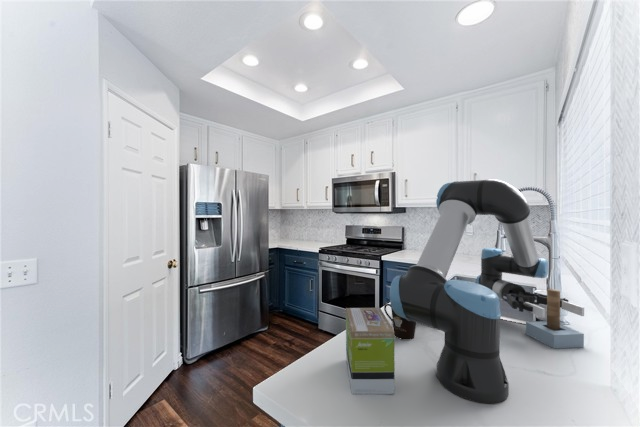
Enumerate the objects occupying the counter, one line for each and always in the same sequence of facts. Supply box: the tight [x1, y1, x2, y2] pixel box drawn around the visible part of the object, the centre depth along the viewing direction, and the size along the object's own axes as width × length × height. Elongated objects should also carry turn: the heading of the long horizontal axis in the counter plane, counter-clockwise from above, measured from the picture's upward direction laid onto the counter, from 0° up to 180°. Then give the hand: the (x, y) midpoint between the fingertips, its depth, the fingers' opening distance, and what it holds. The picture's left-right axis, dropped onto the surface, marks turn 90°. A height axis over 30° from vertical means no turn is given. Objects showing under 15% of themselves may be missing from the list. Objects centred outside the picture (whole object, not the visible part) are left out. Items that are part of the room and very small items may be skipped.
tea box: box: [345, 307, 396, 395], centre depth 68 cm, size 15×10×15 cm
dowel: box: [546, 288, 561, 331], centre depth 88 cm, size 3×3×16 cm
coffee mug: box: [383, 303, 417, 340], centre depth 92 cm, size 12×9×10 cm
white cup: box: [533, 289, 562, 321], centre depth 105 cm, size 8×8×10 cm
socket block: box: [525, 320, 585, 349], centre depth 88 cm, size 10×10×4 cm
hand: (563, 312), depth 85 cm, fingers open, 13 cm apart
